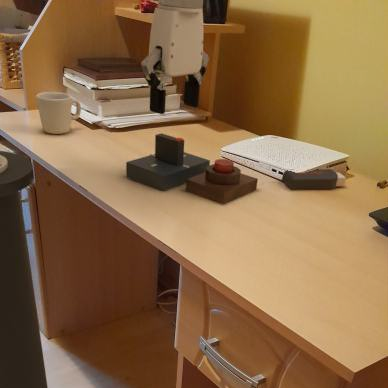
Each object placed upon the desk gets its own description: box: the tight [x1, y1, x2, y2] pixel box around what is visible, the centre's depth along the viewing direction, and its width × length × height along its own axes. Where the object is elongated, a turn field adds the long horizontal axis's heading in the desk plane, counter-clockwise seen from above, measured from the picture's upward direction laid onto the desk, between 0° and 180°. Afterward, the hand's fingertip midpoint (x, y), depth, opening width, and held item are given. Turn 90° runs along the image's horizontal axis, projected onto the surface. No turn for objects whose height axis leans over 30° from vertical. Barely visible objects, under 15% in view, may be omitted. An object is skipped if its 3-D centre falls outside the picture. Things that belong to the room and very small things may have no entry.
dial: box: [154, 132, 185, 165], centre depth 102 cm, size 6×2×5 cm, turn 51°
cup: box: [35, 91, 82, 135], centre depth 123 cm, size 11×8×8 cm
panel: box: [125, 151, 211, 192], centre depth 104 cm, size 14×10×3 cm
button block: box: [185, 163, 259, 205], centre depth 99 cm, size 11×9×4 cm
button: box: [214, 158, 235, 173], centre depth 98 cm, size 4×4×2 cm
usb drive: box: [281, 168, 347, 191], centre depth 105 cm, size 5×12×3 cm, turn 102°
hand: (174, 108), depth 97 cm, fingers open, 9 cm apart
